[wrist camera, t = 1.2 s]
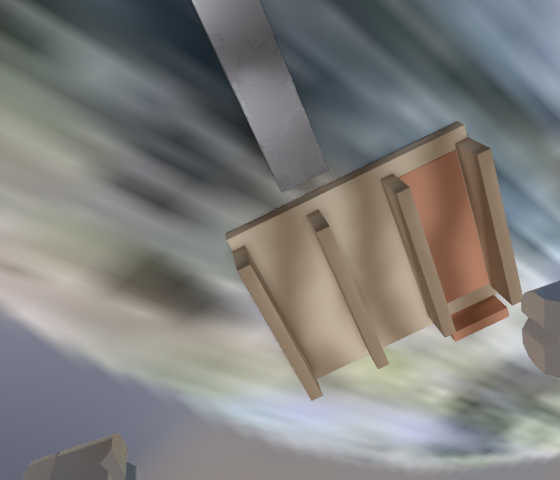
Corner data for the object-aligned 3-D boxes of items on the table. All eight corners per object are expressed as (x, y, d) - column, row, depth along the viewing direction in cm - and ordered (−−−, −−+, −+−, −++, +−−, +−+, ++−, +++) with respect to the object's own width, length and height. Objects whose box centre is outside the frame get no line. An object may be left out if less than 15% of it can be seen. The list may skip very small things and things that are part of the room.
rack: (457, 121, 36) (487, 135, 33) (499, 292, 44) (527, 317, 41) (225, 234, 37) (230, 259, 33) (308, 382, 45) (320, 416, 41)
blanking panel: (225, -42, 29) (238, -52, 23) (301, 138, 35) (328, 170, 29) (180, -19, 29) (181, -23, 23) (263, 157, 35) (281, 192, 29)
